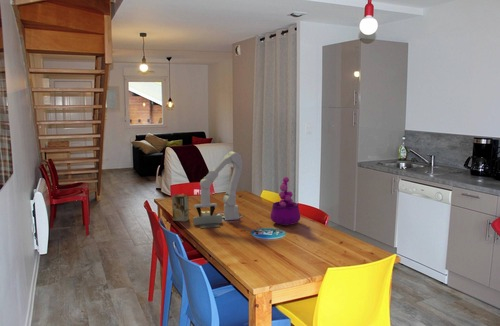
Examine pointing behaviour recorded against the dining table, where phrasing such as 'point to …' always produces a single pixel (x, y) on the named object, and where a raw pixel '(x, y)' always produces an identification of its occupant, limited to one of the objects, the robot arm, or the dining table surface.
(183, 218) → the coffee box
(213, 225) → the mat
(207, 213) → the letter block
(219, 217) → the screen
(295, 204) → the decorative plant
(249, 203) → the dining table surface
